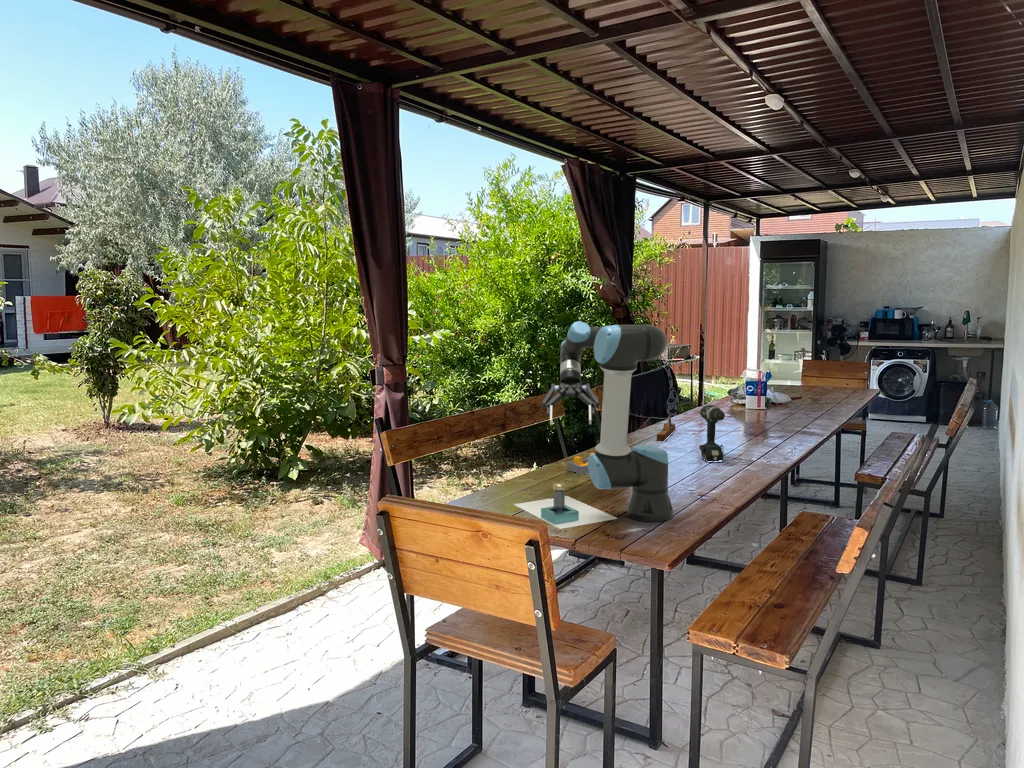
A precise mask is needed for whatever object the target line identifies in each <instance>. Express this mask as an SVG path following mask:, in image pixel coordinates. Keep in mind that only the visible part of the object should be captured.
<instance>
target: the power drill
mask: <svg viewBox="0 0 1024 768" xmlns="http://www.w3.org/2000/svg"><path fill="white" fill-rule="evenodd" d="M699 414H700V416H701V417H702V419H704V420H705V422H706V425H707V427H706V443H703V444H699V450H700V454H701V458H702V457H703V458H704V459H705V460H707V461H719V460H723V461H724V450H723V449H724V445H723V444H720V445H719V444H717V443H716V442H715V440H716V439H715V438H716V424H717V423H719V421H723V420H724V419H725V417H726V414H725V412H724V411H722V409H720V407H718V406H716V405H713V404H707V405H705V406H703V407H702V408H701V409H700V411H699Z"/></svg>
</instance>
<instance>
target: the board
mask: <svg viewBox="0 0 1024 768" xmlns="http://www.w3.org/2000/svg"><path fill="white" fill-rule="evenodd" d="M513 505H514V506H515V507H516V508H517V507H518V509H519V508H520V509H522V510H523V511H525V512H527V513H530V514H531V515H532V516H534V517H537V518H539V519H540V520H542V521H544V522H546V523H548V524H550V525H551V526H554V527H555V528H557V529H558V530H559V529H560V530H562V529H568V528H572V527H579V526H584V525H589V524H595V523H596V524H597V523H602V522H606V521H612V520H613V521H614V520H617V519H619V518H618V517H616V516H613V515H612V514H610V513H607V512H604V511H603V510H600V509H598V508H595V507H594V506H592V505H589V504H586V503H584V502H582V501H579V500H578V499H575V498H573V497H570V496H568V495H565V505H566V506H569V507H571V508H573V509H575V510H577V511H579V520H577V521H571V522H566V523H560V524H553V523H551V522H549V521H547V520H545V519H544V518H542V517H541V508H547V507H553V506H554V497H552V498H546V499H540V500H539V499H538V500H533V501H527V502H525V501H524V502H519V503H514V504H513Z"/></svg>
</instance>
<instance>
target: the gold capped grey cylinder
mask: <svg viewBox="0 0 1024 768" xmlns="http://www.w3.org/2000/svg"><path fill="white" fill-rule="evenodd" d="M552 490H553V498H554V512H555V513H561V512H565V496H566V495H565V490H566V484H565V483H563V482H555V483H553V484H552Z"/></svg>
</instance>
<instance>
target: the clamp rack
mask: <svg viewBox="0 0 1024 768" xmlns="http://www.w3.org/2000/svg"><path fill="white" fill-rule="evenodd" d="M582 462H583V463H584V464H585V463H587V462H588V458H586V459H582ZM566 466H567V467H566V470H567V471H569V472H571V471H573V472H572V473H574V472H576V473H575V474H577V473H578V474H577V475H579V474H585V475H587V474H586V473H589V470H588V465H586V466H580V465H577V464H574V460H571V461H567V462H566Z"/></svg>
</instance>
